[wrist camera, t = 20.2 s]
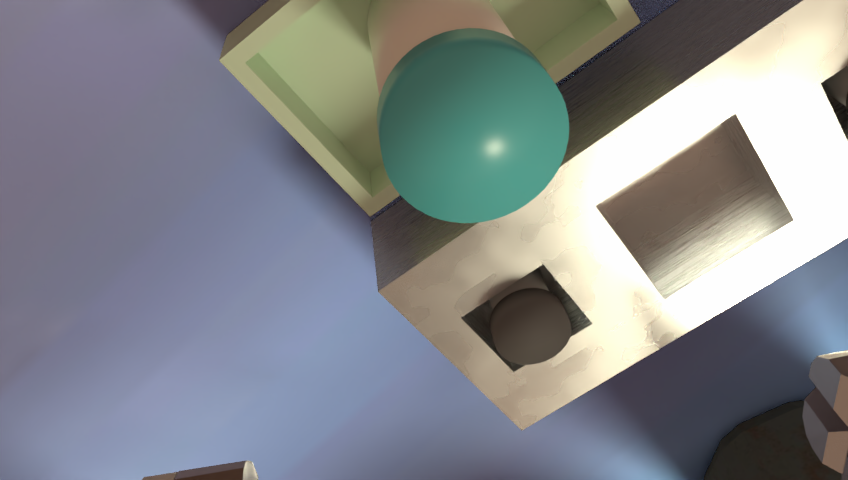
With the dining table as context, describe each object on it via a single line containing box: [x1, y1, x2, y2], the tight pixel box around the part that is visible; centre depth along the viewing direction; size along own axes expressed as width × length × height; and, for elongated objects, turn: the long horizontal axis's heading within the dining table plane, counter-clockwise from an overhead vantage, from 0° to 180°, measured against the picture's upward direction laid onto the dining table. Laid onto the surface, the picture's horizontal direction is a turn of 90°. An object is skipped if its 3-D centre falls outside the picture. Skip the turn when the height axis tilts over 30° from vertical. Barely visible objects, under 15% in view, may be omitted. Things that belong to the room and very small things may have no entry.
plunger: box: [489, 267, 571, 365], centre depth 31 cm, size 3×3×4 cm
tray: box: [219, 0, 641, 217], centre depth 27 cm, size 8×12×3 cm, turn 127°
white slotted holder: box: [371, 0, 848, 430], centre depth 30 cm, size 22×10×5 cm, turn 127°
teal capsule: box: [367, 0, 569, 223], centre depth 24 cm, size 5×5×10 cm
